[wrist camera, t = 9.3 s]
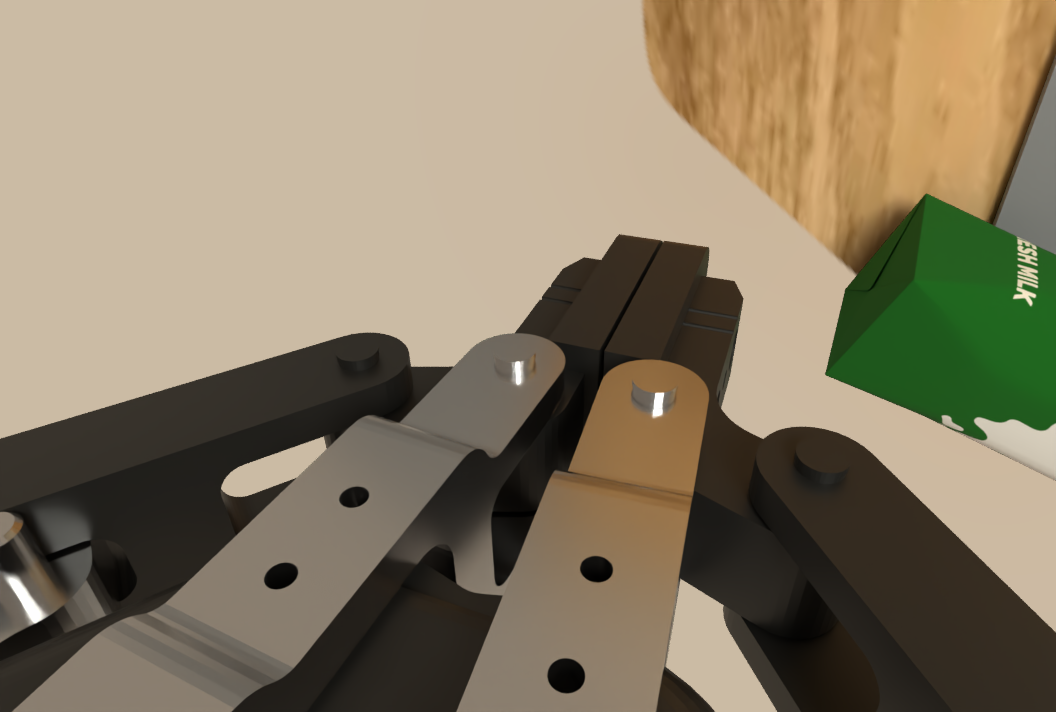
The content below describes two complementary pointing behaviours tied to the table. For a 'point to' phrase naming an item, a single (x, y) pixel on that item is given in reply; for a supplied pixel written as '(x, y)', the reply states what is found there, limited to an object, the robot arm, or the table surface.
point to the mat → (1034, 177)
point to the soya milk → (958, 331)
